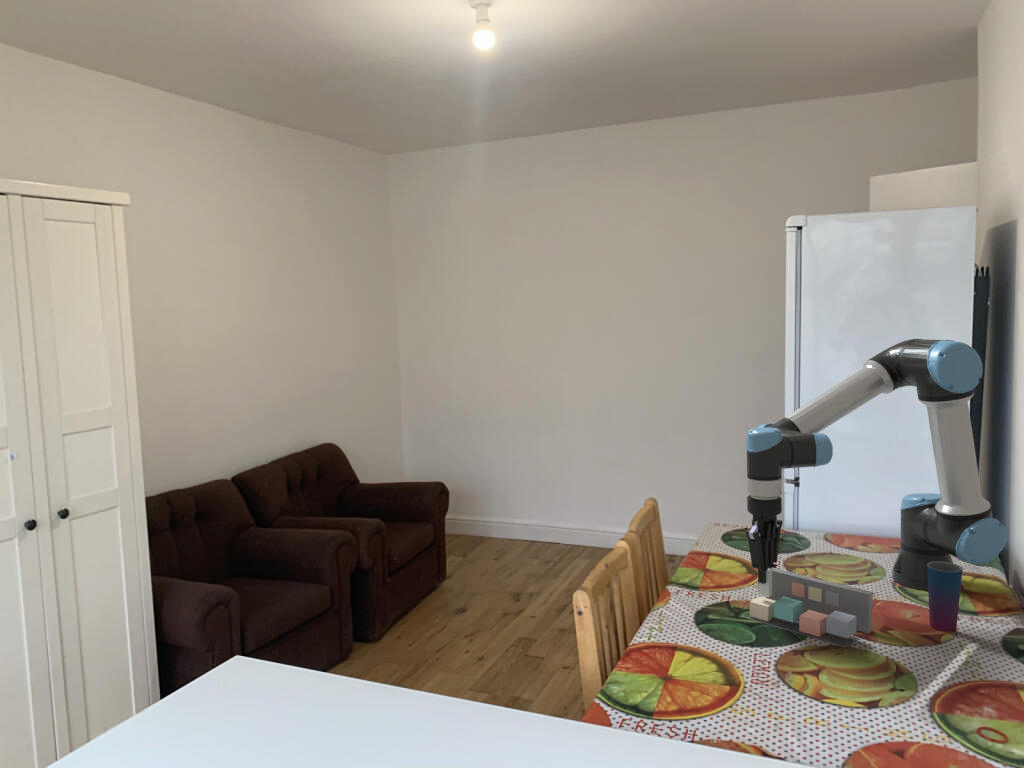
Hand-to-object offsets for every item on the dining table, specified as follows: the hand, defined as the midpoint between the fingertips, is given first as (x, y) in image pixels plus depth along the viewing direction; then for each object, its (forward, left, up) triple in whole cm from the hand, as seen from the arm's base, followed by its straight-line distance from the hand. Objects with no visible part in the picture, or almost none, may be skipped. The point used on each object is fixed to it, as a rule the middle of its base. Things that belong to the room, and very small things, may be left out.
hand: (765, 595), depth 177 cm
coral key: (0, +12, -5) cm, 13 cm away
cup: (-21, +31, -7) cm, 38 cm away
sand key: (0, 0, -5) cm, 5 cm away
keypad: (-1, +9, -6) cm, 11 cm away
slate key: (0, +18, -4) cm, 18 cm away
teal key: (0, +6, -4) cm, 7 cm away
